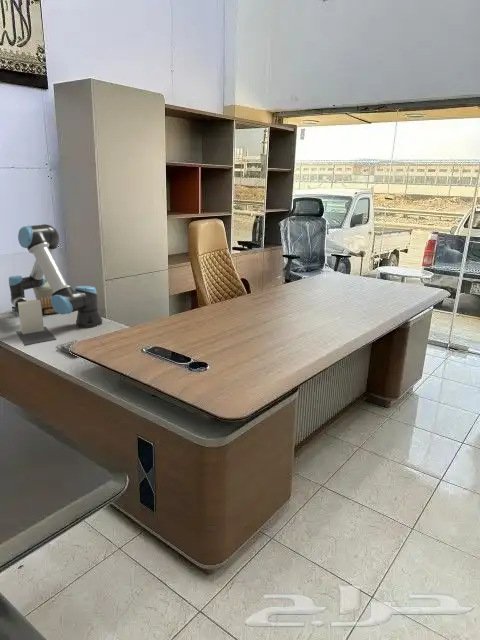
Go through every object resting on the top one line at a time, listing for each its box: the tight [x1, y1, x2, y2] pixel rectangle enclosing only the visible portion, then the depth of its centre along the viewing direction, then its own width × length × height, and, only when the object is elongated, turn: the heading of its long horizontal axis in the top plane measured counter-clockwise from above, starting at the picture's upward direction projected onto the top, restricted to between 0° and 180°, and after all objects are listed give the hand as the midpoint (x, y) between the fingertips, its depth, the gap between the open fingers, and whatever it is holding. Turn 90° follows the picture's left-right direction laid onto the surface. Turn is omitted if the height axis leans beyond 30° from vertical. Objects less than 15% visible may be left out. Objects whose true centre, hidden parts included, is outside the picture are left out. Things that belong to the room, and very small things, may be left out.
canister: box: [32, 276, 53, 304], centre depth 294 cm, size 18×18×21 cm
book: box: [18, 299, 45, 334], centre depth 245 cm, size 4×11×18 cm, turn 125°
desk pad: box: [15, 326, 57, 347], centre depth 243 cm, size 26×16×1 cm, turn 35°
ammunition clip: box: [41, 296, 59, 317], centre depth 282 cm, size 11×2×12 cm, turn 121°
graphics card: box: [55, 339, 78, 354], centre depth 220 cm, size 17×4×12 cm
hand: (29, 313), depth 246 cm, fingers closed
